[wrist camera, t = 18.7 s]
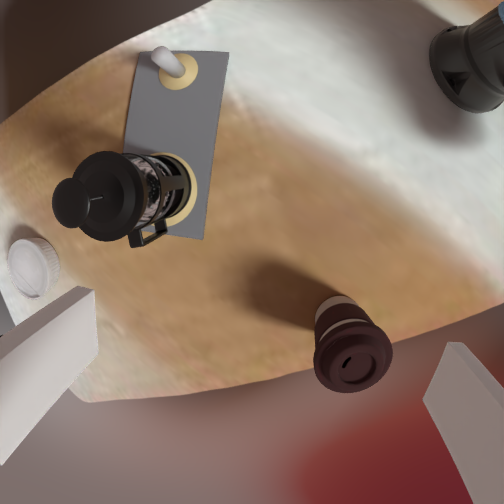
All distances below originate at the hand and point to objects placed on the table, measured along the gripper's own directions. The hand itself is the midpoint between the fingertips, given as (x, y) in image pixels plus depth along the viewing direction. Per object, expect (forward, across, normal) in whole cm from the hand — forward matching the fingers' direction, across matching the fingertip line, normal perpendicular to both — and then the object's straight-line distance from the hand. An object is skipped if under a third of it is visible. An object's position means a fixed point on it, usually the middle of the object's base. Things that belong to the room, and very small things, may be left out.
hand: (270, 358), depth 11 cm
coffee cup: (+37, +12, -14) cm, 41 cm away
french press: (+36, -17, +2) cm, 40 cm away
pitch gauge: (+37, -17, +9) cm, 41 cm away
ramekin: (+37, -41, -14) cm, 57 cm away
